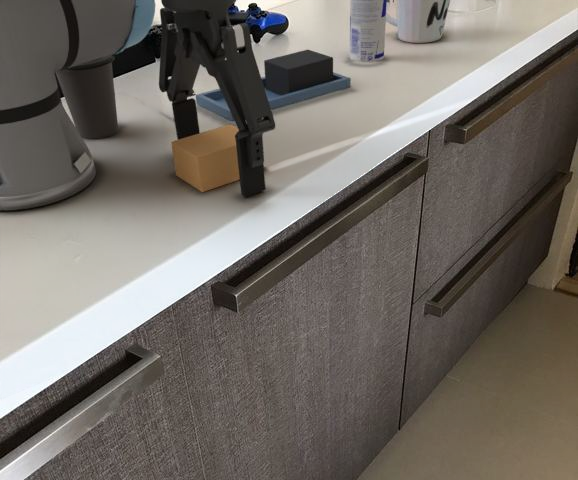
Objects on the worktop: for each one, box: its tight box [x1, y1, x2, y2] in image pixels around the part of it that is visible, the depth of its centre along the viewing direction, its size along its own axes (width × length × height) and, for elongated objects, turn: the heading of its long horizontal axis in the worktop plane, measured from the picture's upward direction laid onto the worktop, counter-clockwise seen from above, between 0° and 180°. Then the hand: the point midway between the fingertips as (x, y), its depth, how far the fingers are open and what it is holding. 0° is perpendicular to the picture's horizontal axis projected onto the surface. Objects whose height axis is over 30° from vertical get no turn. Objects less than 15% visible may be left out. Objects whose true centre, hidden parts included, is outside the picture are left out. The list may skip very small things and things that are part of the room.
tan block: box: [170, 124, 240, 193], centre depth 76 cm, size 8×6×4 cm
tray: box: [195, 71, 352, 122], centre depth 96 cm, size 21×10×2 cm, turn 126°
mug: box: [386, 0, 451, 44], centre depth 116 cm, size 10×15×10 cm
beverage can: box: [349, 0, 388, 63], centre depth 104 cm, size 6×6×15 cm
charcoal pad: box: [263, 49, 334, 96], centre depth 97 cm, size 8×6×4 cm
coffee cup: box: [55, 54, 119, 140], centre depth 86 cm, size 8×8×10 cm
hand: (220, 174), depth 77 cm, fingers open, 13 cm apart
